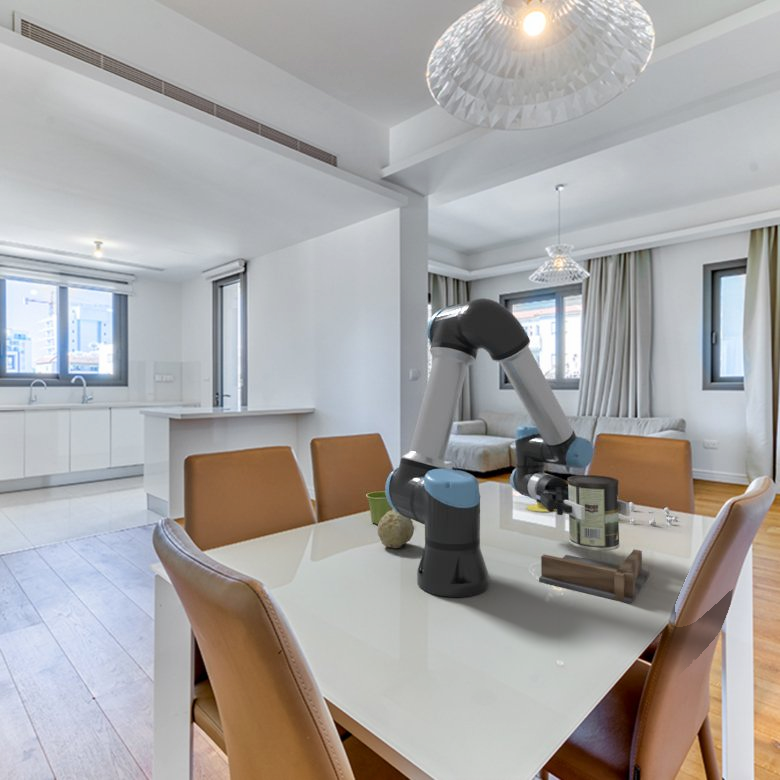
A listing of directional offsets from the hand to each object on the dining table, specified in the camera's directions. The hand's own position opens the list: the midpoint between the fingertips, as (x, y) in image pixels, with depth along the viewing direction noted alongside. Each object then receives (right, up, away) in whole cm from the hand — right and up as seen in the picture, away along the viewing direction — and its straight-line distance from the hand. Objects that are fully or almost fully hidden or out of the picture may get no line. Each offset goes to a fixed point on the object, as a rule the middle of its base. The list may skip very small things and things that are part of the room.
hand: (605, 511), depth 101 cm
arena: (-1, -15, +4) cm, 16 cm away
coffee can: (-1, -8, +4) cm, 9 cm away
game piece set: (+34, -16, +51) cm, 64 cm away
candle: (+6, -16, +64) cm, 66 cm away
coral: (-44, -16, +26) cm, 54 cm away
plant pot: (-48, -16, +49) cm, 71 cm away
